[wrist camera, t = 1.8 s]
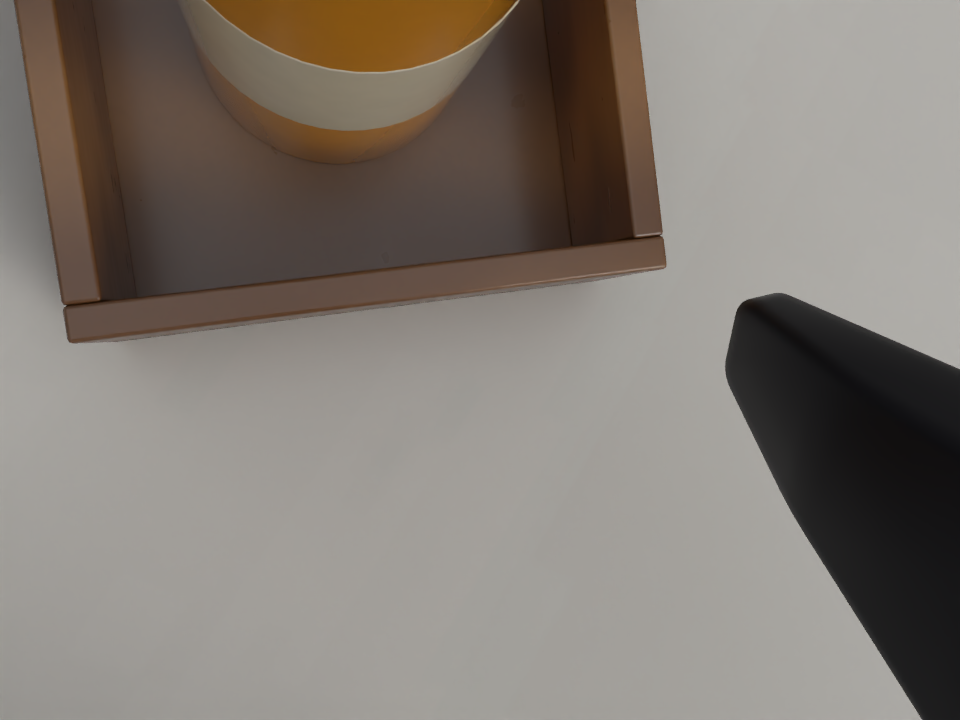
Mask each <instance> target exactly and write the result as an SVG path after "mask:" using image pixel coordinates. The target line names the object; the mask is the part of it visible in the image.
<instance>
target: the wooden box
mask: <svg viewBox="0 0 960 720" xmlns="http://www.w3.org/2000/svg"><path fill="white" fill-rule="evenodd" d="M14 5H15V11H16V17H17V24H18V30H19V36H20V43H21V49H22V55H23V61H24V68H25V74H26V80H27V87H28V93H29V99H30V106H31V112H32V118H33V125H34V131H35V137H36V144H37V150H38V156H39V162H40V169H41V175H42V181H43V188H44V194H45V200H46V207H47V213H48V219H49V226H50V232H51V238H52V245H53V251H54V257H55V263H56V270H57V276H58V282H59V289H60V295H61V301H62V303H63V305H67V306H66V307H64V309H63V314H64V320H65V326H66V333H67V339H68V341H69V342H70V343H93V342H118V341H125V340H133V339H141V338H149V337H157V336H165V335H173V334H180V333H188V332H196V331H204V330H212V329H220V328H228V327H236V326H243V325H251V324H259V323H267V322H275V321H283V320H291V319H298V318H306V317H314V316H322V315H330V314H338V313H346V312H353V311H361V310H369V309H377V308H385V307H393V306H401V305H409V304H416V303H424V302H432V301H440V300H448V299H456V298H464V297H471V296H479V295H487V294H495V293H503V292H511V291H519V290H526V289H534V288H542V287H550V286H558V285H566V284H574V283H581V282H589V281H597V280H602V279H608V278H614V277H619V276H625V275H631V274H636V273H642V272H648V271H654V270H659V269H664V268H665V267H666V256H665V247H664V239H663V237H661V236H660V235H662V232H663V230H662V222H661V213H660V205H659V196H658V188H657V179H656V170H655V162H654V153H653V145H652V136H651V128H650V119H649V111H648V102H647V94H646V85H645V77H644V68H643V60H642V51H641V42H640V34H639V25H638V17H637V8H636V0H520V1H519V2H518V4H517V5H516V7H515V8H514V10H513V11H512V12H511V14H510V15H509V17H508V18H507V20H506V21H505V23H504V24H503V25H502V27H501V28H500V30H499V31H498V33H497V34H496V36H495V37H494V39H493V40H492V41H491V43H490V44H489V46H488V47H487V49H486V50H485V52H484V53H483V54H482V56H481V57H480V59H479V60H478V62H477V63H476V65H475V66H474V68H473V69H472V70H471V72H470V73H469V75H468V76H467V77H466V78H465V79H464V80H463V82H462V83H461V85H460V86H459V88H458V89H457V91H456V92H455V93H454V95H453V96H452V98H451V99H450V101H449V102H448V104H447V105H446V107H445V108H444V110H443V111H442V112H441V114H440V115H439V117H438V118H437V119H436V120H435V121H434V122H433V123H432V125H431V126H430V127H429V128H428V129H427V130H426V131H425V132H423V133H422V134H421V135H420V136H419V137H417V138H416V139H415V140H414V141H412V142H410V143H409V144H407V145H406V146H404V147H403V148H401V149H399V150H397V151H394V152H392V153H390V154H388V155H386V156H383V157H379V158H376V159H373V160H369V161H364V162H357V163H350V164H330V163H320V162H314V161H309V160H305V159H301V158H297V157H294V156H292V155H289V154H286V153H284V152H281V151H279V150H277V149H275V148H273V147H271V146H270V145H268V144H266V143H264V142H262V141H261V140H260V139H258V138H257V137H255V136H254V135H252V134H251V133H250V132H248V131H247V130H246V129H245V128H244V127H243V126H241V125H240V124H239V123H238V122H237V121H236V120H235V119H234V118H233V117H232V116H231V115H230V114H229V112H228V111H227V110H226V109H225V108H224V107H223V106H222V104H221V103H220V101H219V100H218V98H217V97H216V95H215V94H214V92H213V91H212V89H211V87H210V85H209V84H208V82H207V80H206V78H205V76H204V74H203V71H202V69H201V66H200V63H199V60H198V57H197V55H196V52H195V49H194V46H193V43H192V40H191V37H190V34H189V31H188V28H187V25H186V22H185V20H184V18H183V15H182V12H181V9H180V6H179V4H178V1H177V0H14Z"/></svg>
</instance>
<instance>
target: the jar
mask: <svg viewBox="0 0 960 720" xmlns="http://www.w3.org/2000/svg"><path fill="white" fill-rule="evenodd" d="M177 1H178V4H179V6H180V9H181V12H182V15H183V18H184V20H185V22H186V25H187V28H188V31H189V34H190V37H191V40H192V43H193V46H194V49H195V52H196V55H197V57H198V60H199V63H200V66H201V69H202V71H203V74H204V76H205V78H206V80H207V82H208V84H209V85H210V87H211V89H212V91H213V92H214V94H215V95H216V97H217V98H218V100H219V101H220V103H221V104H222V106H223V107H224V108H225V109H226V110H227V111H228V112H229V114H230V115H231V116H232V117H233V118H234V119H235V120H236V121H237V122H238V123H239V124H240V125H241V126H243V127H244V128H245V129H246V130H247V131H248V132H250V133H251V134H252V135H254V136H255V137H257V138H258V139H260V140H261V141H262V142H264V143H266V144H268V145H270V146H271V147H273V148H275V149H277V150H279V151H281V152H284V153H286V154H289V155H292V156H294V157H297V158H301V159H305V160H309V161H314V162H320V163H330V164H350V163H357V162H364V161H369V160H373V159H376V158H379V157H383V156H386V155H388V154H390V153H392V152H394V151H397V150H399V149H401V148H403V147H404V146H406V145H407V144H409V143H410V142H412V141H414V140H415V139H416V138H417V137H419V136H420V135H421V134H422V133H423V132H425V131H426V130H427V129H428V128H429V127H430V126H431V125H432V123H433V122H434V121H435V120H436V119H437V118H438V117H439V115H440V114H441V112H442V111H443V110H444V108H445V107H446V105H447V104H448V102H449V101H450V99H451V98H452V96H453V95H454V93H455V92H456V91H457V89H458V88H459V86H460V85H461V83H462V82H463V80H464V79H465V78H466V77H467V76H468V75H469V73H470V72H471V70H472V69H473V68H474V66H475V65H476V63H477V62H478V60H479V59H480V57H481V56H482V54H483V53H484V52H485V50H486V49H487V47H488V46H489V44H490V43H491V41H492V40H493V39H494V37H495V36H496V34H497V33H498V31H499V30H500V28H501V27H502V25H503V24H504V23H505V21H506V20H507V18H508V17H509V15H510V14H511V12H512V11H513V10H514V8H515V7H516V5H517V4H518V2H519V1H520V0H177Z"/></svg>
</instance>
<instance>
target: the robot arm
mask: <svg viewBox="0 0 960 720" xmlns="http://www.w3.org/2000/svg"><path fill="white" fill-rule="evenodd" d="M725 371H726V377H727V381H728V384H729V386H730V389H731V391H732V393H733V395H734V397H735V399H736V401H737V403H738V405H739V407H740V409H741V411H742V413H743V415H744V417H745V420H746V422H747V424H748V426H749V428H750V430H751V432H752V434H753V436H754V438H755V440H756V442H757V444H758V446H759V448H760V450H761V452H762V454H763V456H764V458H765V461H766V463H767V465H768V467H769V469H770V471H771V473H772V475H773V477H774V479H775V481H776V483H777V485H778V487H779V489H780V491H781V493H782V495H783V497H784V499H785V501H786V503H787V505H788V506H789V508H790V510H791V512H792V514H793V515H794V517H795V519H796V520H797V522H798V524H799V525H800V527H801V529H802V530H803V532H804V534H805V535H806V537H807V538H808V540H809V541H810V543H811V545H812V546H813V548H814V549H815V551H816V553H817V554H818V556H819V557H820V559H821V560H822V562H823V564H824V565H825V567H826V568H827V570H828V572H829V573H830V575H831V576H832V578H833V579H834V581H835V583H836V584H837V586H838V587H839V589H840V590H841V592H842V594H843V595H844V597H845V598H846V600H847V602H848V603H849V605H850V606H851V608H852V609H853V611H854V613H855V614H856V616H857V617H858V619H859V621H860V622H861V624H862V625H863V627H864V628H865V630H866V632H867V633H868V635H869V636H870V638H871V639H872V641H873V643H874V644H875V646H876V647H877V649H878V651H879V652H880V654H881V655H882V657H883V658H884V660H885V662H886V663H887V665H888V666H889V668H890V670H891V671H892V673H893V674H894V676H895V677H896V679H897V681H898V682H899V684H900V685H901V687H902V688H903V690H904V692H905V693H906V695H907V696H908V698H909V700H910V701H911V703H912V704H913V706H914V707H915V709H916V711H917V712H918V714H919V715H920V717H921V719H922V720H960V369H958V368H955V367H953V366H951V365H948V364H946V363H944V362H942V361H939V360H937V359H935V358H932V357H930V356H928V355H925V354H923V353H921V352H919V351H916V350H914V349H912V348H909V347H907V346H905V345H902V344H900V343H898V342H895V341H893V340H891V339H889V338H886V337H884V336H882V335H879V334H877V333H875V332H872V331H870V330H868V329H866V328H863V327H861V326H859V325H856V324H854V323H852V322H849V321H847V320H845V319H843V318H840V317H838V316H836V315H833V314H831V313H829V312H826V311H824V310H822V309H819V308H817V307H815V306H813V305H810V304H808V303H806V302H803V301H801V300H799V299H796V298H794V297H792V296H789V295H787V294H783V293H774V294H769V295H765V296H761V297H756V298H752V299H748V300H746V301H744V302H742V303H741V305H740V306H739V308H738V309H737V312H736V315H735V320H734V325H733V329H732V334H731V339H730V343H729V348H728V352H727V357H726V363H725Z"/></svg>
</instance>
